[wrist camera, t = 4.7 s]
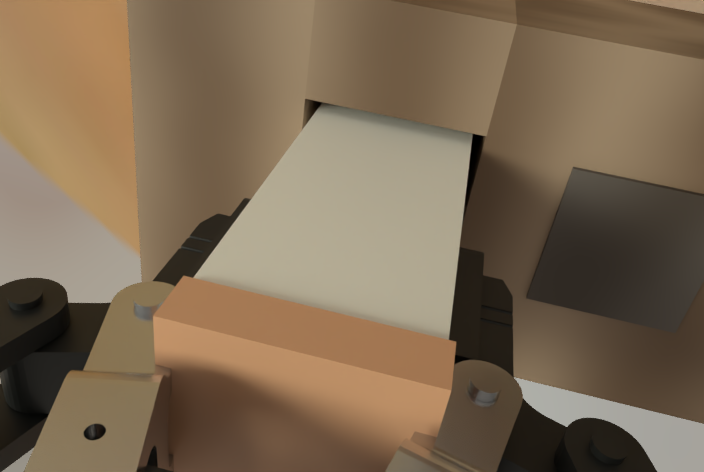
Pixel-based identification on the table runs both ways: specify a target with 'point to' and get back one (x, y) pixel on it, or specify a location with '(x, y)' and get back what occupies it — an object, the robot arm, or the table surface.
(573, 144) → the socket block
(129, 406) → the robot arm
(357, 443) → the plug
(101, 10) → the table surface
